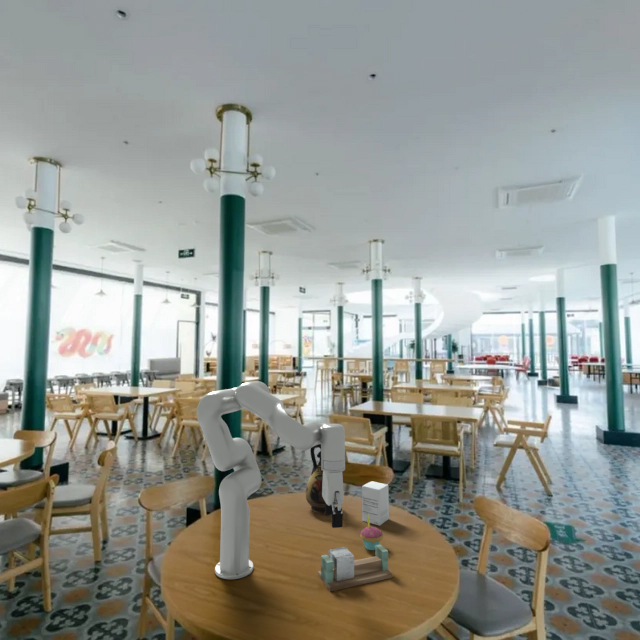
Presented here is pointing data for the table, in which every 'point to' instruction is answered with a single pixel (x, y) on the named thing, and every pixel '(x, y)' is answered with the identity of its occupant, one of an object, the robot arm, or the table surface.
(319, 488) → the ceramic jug
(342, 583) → the rail bed
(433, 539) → the table surface
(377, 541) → the cupcake
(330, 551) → the grey sliding block
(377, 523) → the supplement box
